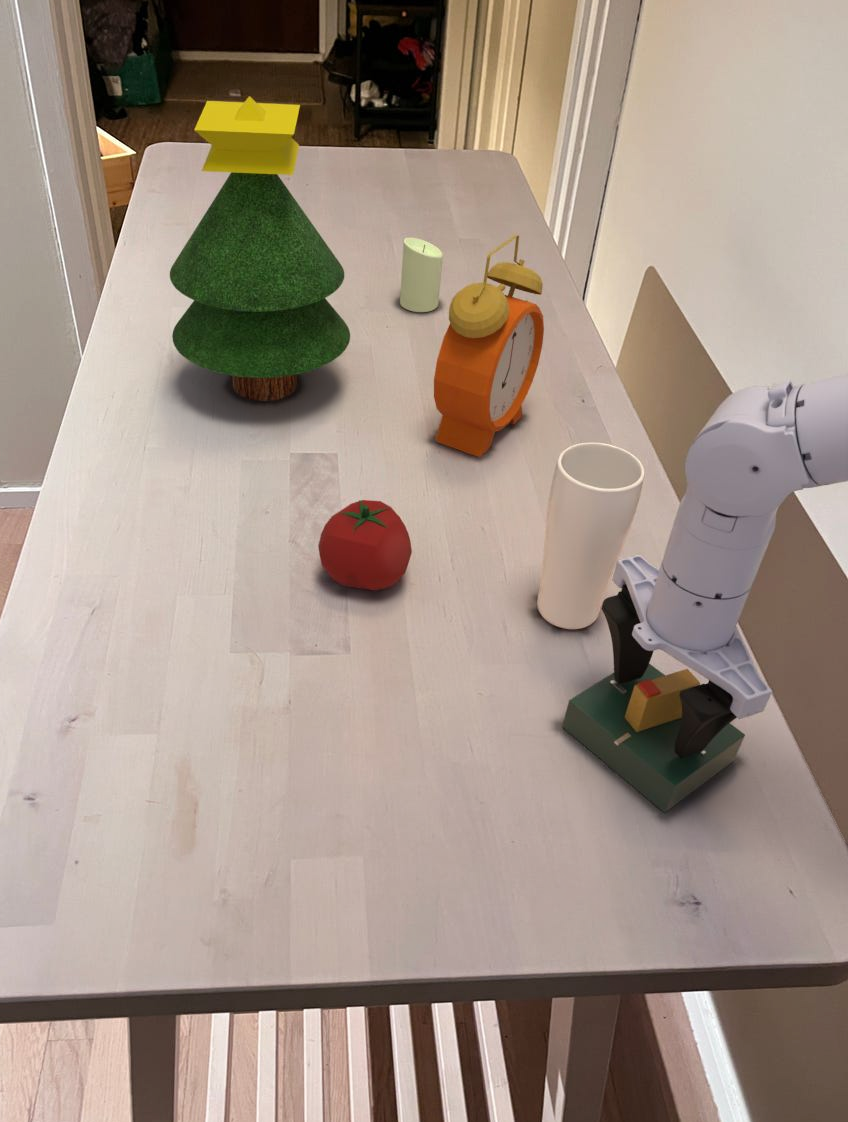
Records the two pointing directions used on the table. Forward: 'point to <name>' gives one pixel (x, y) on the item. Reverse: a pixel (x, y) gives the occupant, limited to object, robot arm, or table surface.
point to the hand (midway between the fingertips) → (657, 713)
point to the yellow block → (658, 700)
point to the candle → (420, 275)
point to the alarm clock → (488, 356)
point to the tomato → (365, 546)
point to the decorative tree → (256, 261)
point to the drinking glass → (586, 530)
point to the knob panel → (644, 743)
